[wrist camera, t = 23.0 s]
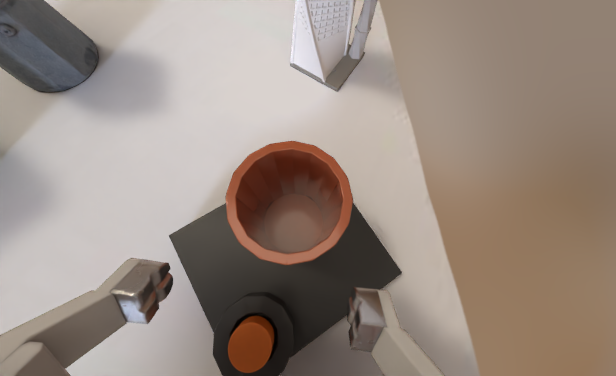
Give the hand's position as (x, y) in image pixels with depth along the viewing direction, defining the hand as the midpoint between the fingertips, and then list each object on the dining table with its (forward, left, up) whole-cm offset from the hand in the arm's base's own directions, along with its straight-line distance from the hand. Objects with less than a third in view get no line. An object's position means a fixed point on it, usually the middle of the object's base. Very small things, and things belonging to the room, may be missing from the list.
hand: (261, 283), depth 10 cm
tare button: (-4, -3, -9) cm, 10 cm away
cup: (+3, +3, -10) cm, 11 cm away
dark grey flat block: (+1, +1, -12) cm, 12 cm away
